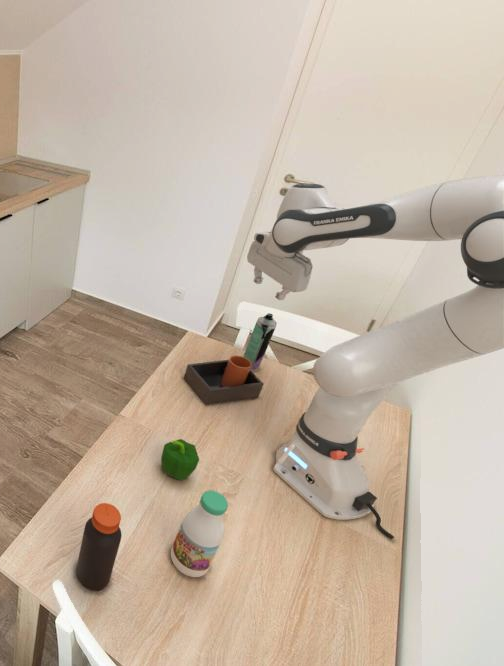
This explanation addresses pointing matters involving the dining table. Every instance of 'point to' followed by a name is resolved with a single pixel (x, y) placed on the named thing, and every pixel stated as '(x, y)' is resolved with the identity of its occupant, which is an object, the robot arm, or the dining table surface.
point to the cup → (236, 371)
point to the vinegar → (99, 547)
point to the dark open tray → (219, 383)
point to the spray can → (260, 340)
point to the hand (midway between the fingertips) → (267, 290)
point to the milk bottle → (200, 535)
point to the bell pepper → (179, 459)
